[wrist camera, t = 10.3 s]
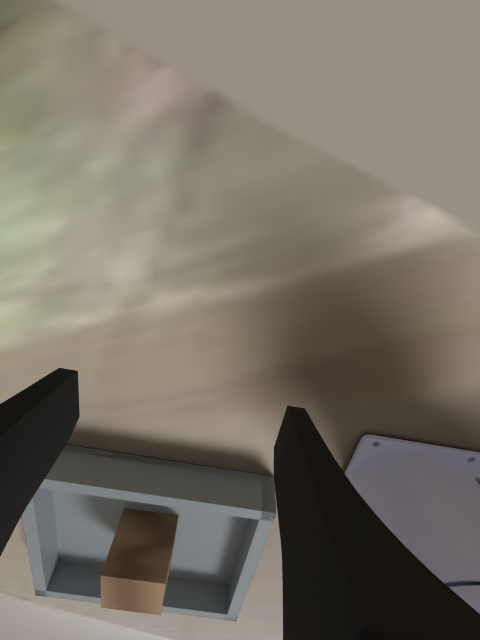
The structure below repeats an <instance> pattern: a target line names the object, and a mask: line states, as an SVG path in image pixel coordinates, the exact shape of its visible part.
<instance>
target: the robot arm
mask: <svg viewBox="0 0 480 640" xmlns="http://www.w3.org/2000/svg"><path fill="white" fill-rule="evenodd" d="M79 417H80V416H79V391H78V371H75V370H69V369H63V368H58V369H57V370H55V371H53V372H52V373H50V374H48V375H47V376H45V377H44V378H42V379H40V380H39V381H37V382H36V383H34V384H33V385H31V386H29V387H28V388H26V389H24V390H23V391H21V392H20V393H18V394H16V395H15V396H13V397H11V398H10V399H8V400H6V401H5V402H3V403H1V404H0V556H1V554H2V552H3V550H4V548H5V546H6V544H7V542H8V540H9V538H10V536H11V534H12V532H13V531H14V529H15V527H16V525H17V523H18V521H19V519H20V518H21V516H22V514H23V512H24V511H25V509H26V507H27V506H28V504H29V503H30V501H31V499H32V498H33V496H34V495H35V493H36V492H37V490H38V488H39V487H40V485H41V484H42V482H43V481H44V479H45V478H46V476H47V474H48V473H49V471H50V470H51V468H52V467H53V465H54V463H55V462H56V460H57V459H58V457H59V455H60V454H61V452H62V451H63V449H64V447H65V446H66V444H67V442H68V440H69V438H70V436H71V434H72V432H73V430H74V428H75V425H76V423H77V421H78V419H79ZM374 442H376V443H374ZM274 482H275V492H276V501H277V510H278V519H279V528H280V537H281V548H282V571H283V640H480V452H474V451H468V450H462V449H456V448H450V447H443V446H437V445H431V444H425V443H419V442H413V441H407V440H401V439H394V438H388V437H382V436H376V435H364V436H363V437H362V438H361V440H360V442H359V444H358V446H357V448H356V450H355V452H354V455H353V457H352V459H351V461H350V463H349V465H348V467H347V469H346V471H345V473H344V472H343V471H342V469H341V468H340V466H339V465H338V463H337V462H336V460H335V458H334V457H333V455H332V454H331V452H330V451H329V449H328V447H327V446H326V444H325V442H324V441H323V439H322V437H321V436H320V434H319V432H318V431H317V429H316V427H315V425H314V424H313V422H312V420H311V418H310V416H309V415H308V413H307V411H306V410H305V409H304V408H298V407H292V406H287V409H286V412H285V415H284V418H283V421H282V424H281V427H280V431H279V434H278V437H277V440H276V443H275V446H274Z"/></svg>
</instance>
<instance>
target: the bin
mask: <svg viewBox="0 0 480 640" xmlns="http://www.w3.org/2000/svg"><path fill="white" fill-rule="evenodd" d="M124 508H129V509H136V510H143V511H150V512H157V513H164V514H171V515H178V516H179V517H178V524H177V530H176V537H175V543H174V549H173V554H172V559H171V565H170V570H169V575H168V580H167V585H166V591H165V596H164V601H163V606H162V611H161V612H168V613H176V614H184V615H191V616H199V617H207V618H214V619H222V620H230V621H237V618H238V615H239V612H240V610H241V607H242V604H243V602H244V599H245V596H246V594H247V591H248V588H249V586H250V583H251V580H252V577H253V575H254V572H255V569H256V567H257V564H258V561H259V559H260V556H261V553H262V551H263V548H264V545H265V542H266V540H267V537H268V534H269V532H270V529H271V526H272V524H273V521H274V518H275V515H276V500H275V484H274V476H267V475H261V474H254V473H248V472H241V471H235V470H228V469H222V468H215V467H209V466H202V465H196V464H189V463H183V462H176V461H170V460H163V459H156V458H150V457H143V456H137V455H130V454H124V453H117V452H111V451H104V450H98V449H91V448H85V447H78V446H72V445H66V446H65V447H64V449H63V451H62V452H61V454H60V455H59V457H58V459H57V460H56V462H55V463H54V465H53V467H52V468H51V470H50V471H49V473H48V474H47V476H46V478H45V479H44V481H43V482H42V484H41V485H40V487H39V488H38V490H37V492H36V493H35V495H34V496H33V498H32V499H31V501H30V503H29V504H28V506H27V507H26V509H25V511H24V512H23V514H22V520H23V526H24V532H25V538H26V543H27V549H28V555H29V561H30V566H31V572H32V578H33V584H34V589H35V595H37V596H45V597H52V598H60V599H68V600H76V601H83V602H91V603H99V604H101V573H102V570H103V567H104V564H105V562H106V559H107V556H108V553H109V550H110V547H111V544H112V541H113V538H114V536H115V533H116V530H117V527H118V524H119V521H120V518H121V515H122V512H123V510H124Z"/></svg>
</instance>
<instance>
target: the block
mask: <svg viewBox="0 0 480 640" xmlns="http://www.w3.org/2000/svg"><path fill="white" fill-rule="evenodd" d="M178 517H179V516H178V515H171V514H164V513H157V512H150V511H143V510H136V509H129V508H124V510H123V512H122V515H121V518H120V521H119V524H118V527H117V530H116V533H115V536H114V538H113V541H112V544H111V547H110V550H109V553H108V556H107V559H106V562H105V564H104V567H103V570H102V573H101V608H108V609H116V610H124V611H132V612H140V613H148V614H156V615H161V611H162V606H163V601H164V596H165V591H166V585H167V580H168V575H169V570H170V565H171V559H172V554H173V549H174V543H175V537H176V530H177V524H178Z"/></svg>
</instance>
